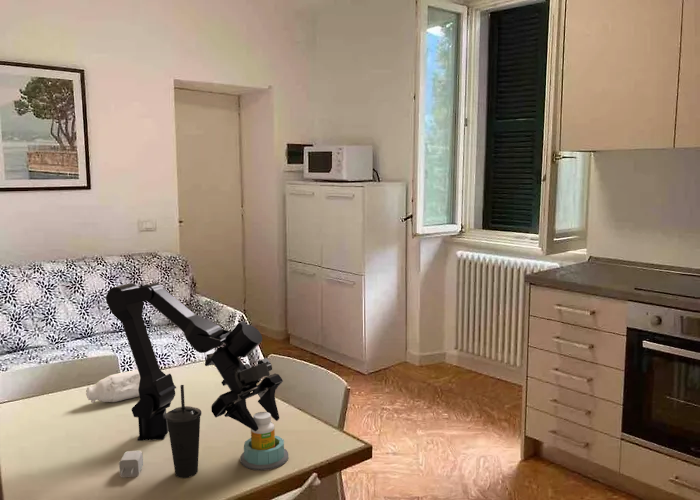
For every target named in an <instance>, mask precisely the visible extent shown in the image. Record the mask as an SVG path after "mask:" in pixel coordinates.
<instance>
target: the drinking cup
mask: <svg viewBox="0 0 700 500" xmlns="http://www.w3.org/2000/svg"><path fill="white" fill-rule="evenodd" d="M184 386H185V385H184V384H180V403H181V404H180V405H181V406H178V407H175V408H173V409H171V410H169V411H168V412H166V415H165V418H166V420H167V423H168V430H169V431H168V435H169V443H170V448H171V454H172V455H171V456H172V461H173V467H174V469H173V470H174V474H175V477H177V478H180V479H186V478H191V477H193V476H195V475H197V474H198V472H199V453H200V452H199V450H200V431H201V430H200V428H201V416H202V410H201V409H200V408H199V407H193V406H187V405H186V404H185V387H184Z"/></svg>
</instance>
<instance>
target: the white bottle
mask: <svg viewBox="0 0 700 500" xmlns="http://www.w3.org/2000/svg"><path fill="white" fill-rule="evenodd" d="M139 383H140V374H139V371H138V369H133V370H129V371H123V372H119V373H114V374H110V375H108V376H106V377H105V378H102V379H99V380H98V381H97V382H96V383H95V384H94V385H92V386H88V387H87V388H86V390H85V395H86V397H87V400H88V401H90V402H91V404H93V403H96V401H99V402H101V403H116V402H117V403H118V402H121V401H126V400H129V399H133V398H137V397H139V391H138V389H139Z"/></svg>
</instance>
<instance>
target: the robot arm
mask: <svg viewBox="0 0 700 500" xmlns="http://www.w3.org/2000/svg"><path fill="white" fill-rule="evenodd" d="M105 300H106V301H105V302H106V304H107V306H108V308H109V310H110V312H111V314H112V315H113V316H114V317H115V318H116V319H118V321H119V322H120V323H121V324H122V326H123V330H124V333H125V336H126V339H127V341H128V345H129V347H130V351H131V353H132V356H133V359H134V362H135V365H136V368H137V369H138V371H139V374H140V383H139V389H138V391H139V396H138V397H139V400H138V401H137V402H136V404H134V405H133V406H132V408H131V412H132V416H133V418H137V419H138V421H137V423H138V437H137V438H136V439H137V441H142V442H143V441H157V440H158V441H160V440H161V441H162V440H165V438H166V437H167V434H169V430H168V423H167V420H166V418H165V415H166V413H167V409H168V408H169V407H170V406H171V403H172V401H173V400H174V398H175V396H176V390H175V389H177V386H176V385H175V384H174V380H173V376H172V374H171V373H168V374H166V373H164V372H163V371H162V370H161V369H160V365H159V363H158V360H157V357H156V354H155V351H154V347H153V345H152V342H151V339H150V336H149V333H148V329H147V327H146V324H145V321H144V318H143V311H144V307H145V303H144V302H147V303H149V304H150V305H151V306H153V307H154V308H155V309H156V310H157V311H158V312H159V313H161V314H162V315H163V316H164V317H166V318H167V319H168V320H169V321H170V322H172V323H173V325H175V326H176V327H178V328H179V329H180V330H181V331H182V332H183V334H184V336H185V339H186V341H187V343H188V344H189V345H190V346H191V347H192V348H193V349H194V350H195V351H196V352H197V353H200V354H203V353H204V354H205V353H208V352H209V351H212V350H214V351H213V353H208V354H206V359H205V362H204V366H205V367H209V366H213V365H214V367H215V368H216V369H217V371H218V373H219V375H220V376H221V378H222V379H223V380H221V385H222V386H223V387H225V386H227V387H228V389H229V391H227V392H225V393H221V394H220V395H219V396H218V397H217V399H216V400H215V401H214V402H213V403H212V404H211V406H210V410H211V413H212V415H213V416H214V417H215V418H218V417H221V416H222V415H224V417H225V418H231V419H233V420H235V421H237V422H238V423H240V424H241V425H244V426H245V427H247V428H249V429H250V430H251V429H252V430H254V431H257V430H258V426H257V424H256V422H255V420H254V419H253V416H252V414H251V412H250V410H249V409H248V407H247V399H250V398H252V397H254V396H257V395H258V397H259V399H258V400H257V403H258V404H259V405H260V406H261V407H262V408H263V409H264V410H265V412H268V413H270V414H271V419H273V420H275V421H276V422H278V421H279V419H280V414H279V410H278V406H277V402H276V391H277V389H278V388H279V386H280V385H281V384H282V383H283V382H284V380H283V378H282V377H281V375H280V374H278V373H273V374H271V373H270V372H271V371H273V366H272V363H271V361H269V359H268V358H267V357H265V358H262V359H260V360H257V364H256V365H253V366H251V364H248V363H246V364H244V363H243V361H242V360H241V358H243V359H244V358H247V357H248V356H249V355H250V354H251V353H252V351H254V350H255V349H256V348H257V347H259V344H262V341H263V336H262V335H263V334H262V333H261V332H260V330H258V328H255V326H253V325H251V324H248V323H246V322H245V320H241V321H240V322H238V323H237V324H236V325H235V327H234V329H232V330H228V329H224V328H222V327H221V326H220V325H218V324H217V323H215V322H213V321H212V320H210V319H208V318H205V317H200V316H198V315H197V314H196V313H194V312H193V311H191V310H190V309H189V308H188V307H187V306H186V305H184V304H183V303H182V302H181V301H179V300H178V299H177V298H176V297H174V295H172V294H171V293H170V292H169V291H167V290H166V289H165V288H164V286H163V285H162V284H161V283H159V282H153V283H149V284H142V285H137V284H135V283H126V284H122V285H118V286H117V285H116V286H113V287H111V288H110V289H108V291H107V294H106V296H105ZM222 345H223V346H222ZM215 349H216V350H215ZM137 369H136V370H137ZM262 378H263V379H262Z"/></svg>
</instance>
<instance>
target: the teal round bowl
mask: <svg viewBox="0 0 700 500" xmlns="http://www.w3.org/2000/svg"><path fill="white" fill-rule="evenodd" d="M239 458H240V459H239V461H240V465H241V466H243V467H244V468H246V469H249V470H253V471H267V470H273V469H277V468H280V467H281V466H283V465H285V464H286V463H287V462H288V461H289V451H288V450H287V449H286V448H285V440H284V439H283V438H282V437H281V436H278V435H275V448H271V449H268V450H256V449H252V444H251V437H249V438H248V439H247V440H245V441H244V444H243V452H242V453H241V455H240V457H239Z"/></svg>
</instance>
